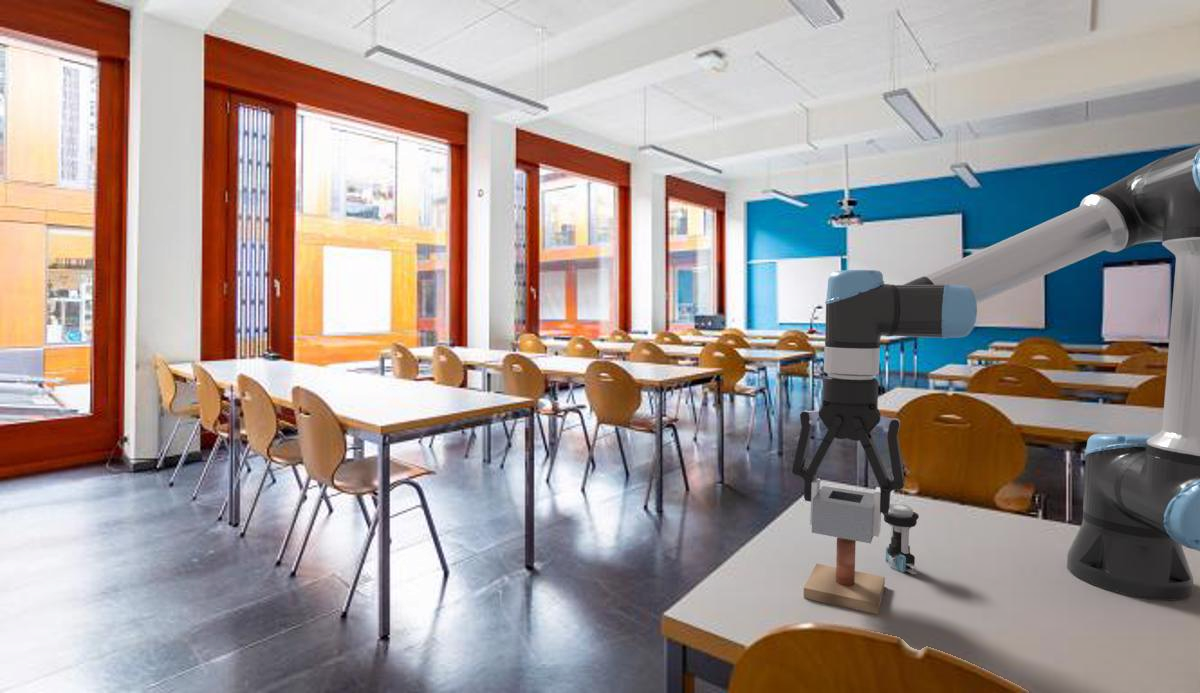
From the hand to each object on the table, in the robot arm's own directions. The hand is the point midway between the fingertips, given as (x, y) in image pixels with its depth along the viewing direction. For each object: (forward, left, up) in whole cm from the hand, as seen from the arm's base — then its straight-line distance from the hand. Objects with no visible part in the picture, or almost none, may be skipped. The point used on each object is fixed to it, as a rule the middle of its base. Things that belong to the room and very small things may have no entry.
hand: (844, 527), depth 93 cm
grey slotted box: (0, 0, 0) cm, 0 cm away
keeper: (0, 0, -10) cm, 10 cm away
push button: (-7, -14, -10) cm, 18 cm away
